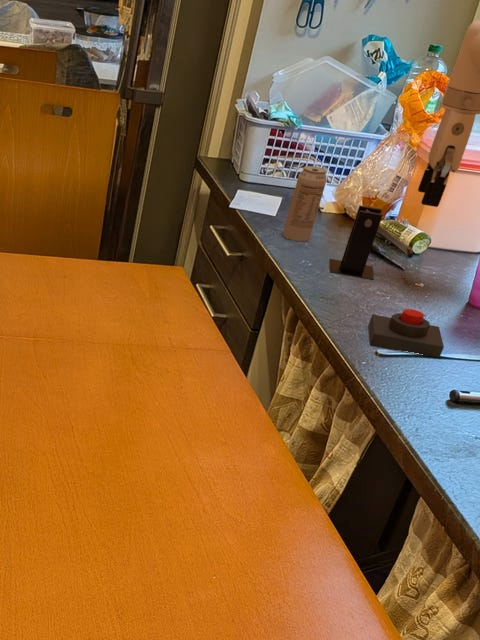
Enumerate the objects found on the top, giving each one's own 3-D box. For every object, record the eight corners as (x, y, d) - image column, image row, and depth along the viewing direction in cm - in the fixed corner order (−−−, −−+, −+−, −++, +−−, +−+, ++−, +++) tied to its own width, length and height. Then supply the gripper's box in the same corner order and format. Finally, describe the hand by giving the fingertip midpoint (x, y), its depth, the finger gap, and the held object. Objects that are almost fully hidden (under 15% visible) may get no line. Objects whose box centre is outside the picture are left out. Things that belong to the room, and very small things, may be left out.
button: (419, 320, 167) (423, 311, 166) (421, 327, 164) (425, 318, 163) (399, 317, 167) (402, 307, 166) (400, 324, 165) (404, 314, 163)
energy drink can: (307, 239, 211) (328, 168, 201) (308, 247, 207) (329, 174, 197) (281, 235, 212) (300, 163, 202) (281, 243, 207) (301, 170, 198)
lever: (406, 254, 192) (415, 244, 190) (407, 262, 188) (416, 251, 187) (357, 217, 190) (366, 206, 189) (358, 223, 186) (367, 213, 185)
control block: (434, 338, 171) (443, 316, 168) (439, 358, 163) (448, 336, 161) (368, 325, 173) (375, 304, 170) (369, 345, 165) (377, 323, 162)
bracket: (370, 271, 197) (392, 208, 189) (372, 285, 191) (394, 220, 182) (328, 264, 199) (347, 200, 190) (327, 277, 192) (348, 212, 184)
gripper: (490, 112, 165) (451, 214, 176) (479, 95, 178) (443, 191, 189) (447, 105, 166) (410, 207, 177) (439, 89, 179) (405, 184, 190)
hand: (427, 198), depth 183 cm, fingers open, 9 cm apart
